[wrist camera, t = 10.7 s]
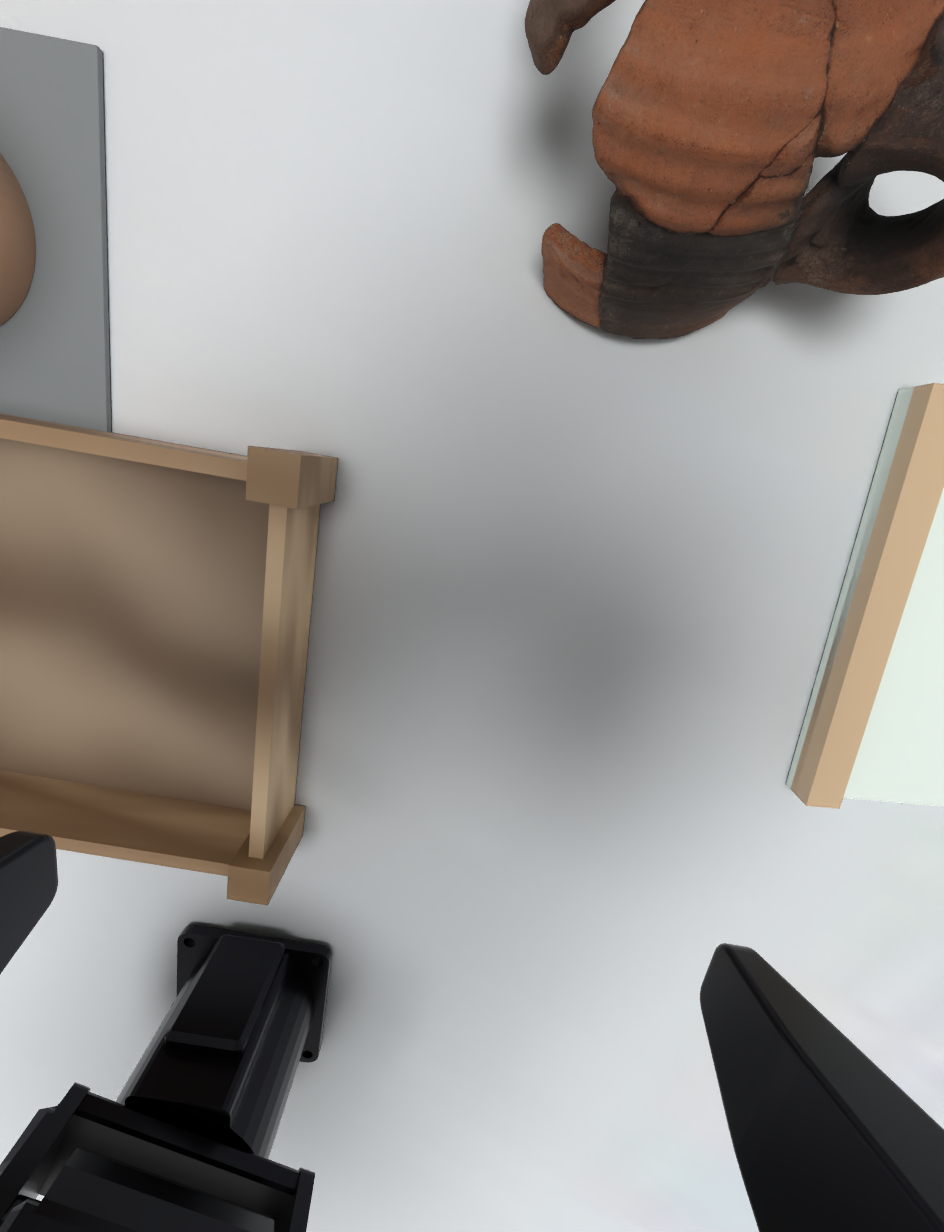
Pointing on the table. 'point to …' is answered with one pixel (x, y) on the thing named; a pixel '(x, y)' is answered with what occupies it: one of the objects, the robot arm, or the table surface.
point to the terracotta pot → (14, 243)
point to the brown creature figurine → (750, 155)
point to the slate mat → (57, 231)
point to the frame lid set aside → (886, 633)
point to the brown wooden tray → (156, 647)
